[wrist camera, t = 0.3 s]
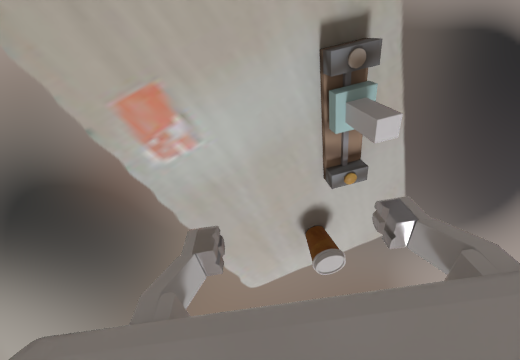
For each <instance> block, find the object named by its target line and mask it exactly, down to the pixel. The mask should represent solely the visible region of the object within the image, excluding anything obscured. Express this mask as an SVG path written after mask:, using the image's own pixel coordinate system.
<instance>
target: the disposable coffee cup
mask: <svg viewBox="0 0 520 360" xmlns="http://www.w3.org/2000/svg"><path fill="white" fill-rule="evenodd" d="M306 239H307V242H308V246H309V250H310V254H311V257H312V261H313V262H312V263H313V264H312V266H313V268H314V269H315V270H316V271H317V272H318V273H319V274H322V275H328V274H332V273H335V272H337V271H339V270H340V269H341V268H343V266H344V265H345V262H346V260H345V254H344V253H343V252H342V251H341V250H339V248H338V247H337V246H336V244H335V243H334V241H333V240H332V239H331V237H330V236H329V235H328V233H327V232H326V231H325V229H324V228H323V227H321V226H314V227H312V228H310V229H309V230H308V231H307V232H306Z"/></svg>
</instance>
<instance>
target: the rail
mask: <svg viewBox="0 0 520 360" xmlns="http://www.w3.org/2000/svg"><path fill="white" fill-rule="evenodd" d="M381 46H382V39H379V38H363V39H359V40H355V41H351V42H347V43H343V44H339V45H335V46H331V47H327V48H323V49H320V74H321V105H322V136H323V168H324V179H325V180H326V181H327V183H328V184H329V186H330V187H331V188H332V189H333V188H337V187H341V186H345V185H349V184H353V183H356V182H360V181H364V180H367V174H368V166H367V165H366V164H365V163H364V162H363V161H362V160H361V159H360V158H361V146H362V134H361V133H359V132H358V131H356V130H355V129H354V130H350V131H346V132H342V133H338V134H335V133H334V132H333V131H331V130H330V129H329V90H333V89H337V88H341V87H345V86H349V85H353V84H357V83H361V82H365V81H367V74H368V67H372V66H376V65H380V56H381Z"/></svg>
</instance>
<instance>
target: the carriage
mask: <svg viewBox="0 0 520 360" xmlns="http://www.w3.org/2000/svg"><path fill="white" fill-rule="evenodd" d="M376 93H377V83H374V82H371V81H365V82H361V83H357V84H353V85H349V86H345V87H341V88H337V89H333V90H329V129H330V130H331V131H333V132H334V133H335V134H338V133H342V132H346V131H350V130H354V129H355V130H356V131H358V132H359V133H361V134H362V135H363V136H365V137H366V138H368V139H369V140H370V141H372V142H373V143H378V142H382V141H386V140H390V139H394V138H398V136H399V130H400V125H401V120H402V113H400V112H398V111H396V110H393V109H391V108H389V107H387V106H385V105H382V104H380V103H378V102H376Z"/></svg>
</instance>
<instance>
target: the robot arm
mask: <svg viewBox="0 0 520 360" xmlns="http://www.w3.org/2000/svg"><path fill="white" fill-rule="evenodd" d="M374 207H375V209H376V211H375V212H374V213H373V217H372V219H373V224H374V227H375V229H376V230H377V232H379V233H381V234H383V236H382V239H383V241H384V242H385V244H386V245H387V247H388V248H389V249H395V248H403V247H407V248H408V249H409V250H411V251H412V252H414V253H415V254H417V255H418V256H420V257H421V258H423V259H424V260H426V261H427V262H429V263H430V264H432V265H433V266H435V267H436V268H438V269H439V270H441V271H442V272H444V273H445V274H447V277H446V278H445V280H444V281H442V282H434V283H427V284H421V285H413V286H406V287H399V288H392V289H384V290H377V291H370V292H363V293H356V294H349V295H342V296H335V297H328V298H320V299H313V300H306V301H299V302H292V303H284V304H278V305H270V306H263V307H256V308H249V309H242V310H234V311H227V312H220V313H213V314H206V315H198V316H190V315H189V313H188V312H187V310H186V308H187V307H188V305H189V304H190V302H191V301H192V299H193V297H194V296H195V294H196V293H197V291H198V290H199V288H200V286H201V285H202V284H203V282H204V280H205V279H206V276H210V275H216V274H222V273H223V266H224V261H223V258H222V257H223V255H224V254H225V245H224V239H223V237H222V236H221V235H220V229H219V226H212V227H204V228H198V229H190V230H189V231H188V233H187V236H186V240H185V243H184V247H183V250H182V254H181V256H179V257H177V258H176V259H175V260H174V261H173V262H172V263H171V265H169V267H168V268H167V269H166V270H165V271H164V272H163V273H162V274H161V275H160V276H159V277H158V278H157V279H156V280H155V281H154V282H153V283H152V285H150V287H149V288H148V289H147V290H146V291H145V292H144V293H143V294H142V295H141V296H140V299H139V301H138V304H137V307H136V309H135V311H134V314H133V317H132V319H131V322H130V324H129V325H126V326H119V327H113V328H105V329H98V330H91V331H84V332H76V333H69V334H62V335H54V336H47V337H42V338H39V339H36V340H34V341H32V342H31V343H29V344H28V345H27V346H25V347H24V348H23V349H21V350H20V351H19V352H17V353H16V354H15V355H14V356H13V357H11V358H10V359H9V360H520V263H519V262H518V261H516V260H515V259H514V258H513V257H512V256H510V255H509V254H508V253H507V252H506V251H505V250H503V249H502V248H501V247H500V246H499V245H497V244H495V243H493V242H490V241H488V240H485V239H483V238H480V237H478V236H476V235H473V234H471V233H469V232H466V231H464V230H462V229H459V228H457V227H455V226H452V225H450V224H447V223H445V222H443V221H440V220H438V219H435V218H432V219H431V218H430V217H429V216H428V215H427V214H426V213H425V212H424V211H423V210H422V209H421V208H420V207H419V206H418V205H417V204H416V203H415V202H414V201H413V200H412V199H411V198H410V197H408V196H406V197H400V198H394V199H388V200H382V201H377V202H376V203H375V206H374Z"/></svg>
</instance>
